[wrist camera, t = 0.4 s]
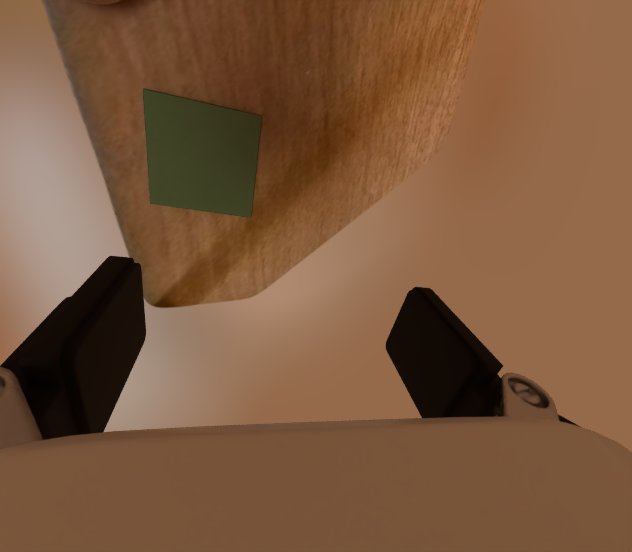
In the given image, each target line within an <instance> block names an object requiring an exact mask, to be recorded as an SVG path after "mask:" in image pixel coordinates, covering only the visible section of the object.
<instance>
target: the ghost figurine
mask: <svg viewBox="0 0 632 552" xmlns="http://www.w3.org/2000/svg"><path fill="white" fill-rule="evenodd" d="M81 1H85V2H88V3H93V4H111V3H115V2H118V1H120V0H81Z"/></svg>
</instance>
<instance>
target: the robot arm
mask: <svg viewBox="0 0 632 552" xmlns="http://www.w3.org/2000/svg"><path fill="white" fill-rule="evenodd" d="M145 336H146V325H145V313H144V299H143V286H142V273H141V265H140V264H139V263H134V260H133V258H127V257H117V256H109V257H108V258H107V259H106V260H105V261H104V262H103V263H102V264H101V265H100V266H99V267H98V269H97V270H96V271H95V272H94V273H93V274H92V275H91V276H90V277H89V278H88V279H87V280H86V281H85V283H84V284H83V285H82V286H81V287H80V288H79V289H78V290H77V291H76V292H75V293H74V294H73V295H72V296H71V297H67V298H66V299H64V300H63V301H62V302H61V303H60V304H59V305H58V306H57V307H56V308H55V309H54V310H53V311H52V312H51V313H50V314H49V315H48V316H47V318H46V319H45V320H44V321H43V322H42V323H41V324H40V325H39V326H38V327H37V328H36V329H35V330H34V331H33V332H32V333H31V334H30V335H29V336H28V337H27V338H26V340H25V341H24V342H23V343H22V344H21V345H20V346H19V347H18V348H17V349H16V350H15V351H14V352H13V353H12V354H11V355H10V356H9V357H8V358H7V359H6V361H5V362H4V363H3V364H2V365H1V366H0V552H632V452H630V451H629V450H628V449H627V448H625V447H624V446H622V445H621V444H619V443H617V442H615V441H613V440H611V439H609V438H607V437H605V436H603V435H600V434H598V433H596V432H594V431H591V430H588V429H585V428H582V427H580V426H578V425H576V424H575V423H573V422H571V421H569V420H567V419H565V418H564V417H562V416H560V415H558V414H557V410H556V407H555V404H554V402H553V400H552V398H551V397H550V396H549V394H548V393H547V392H546V391H545V390H544V389H543V388H541V387H540V386H539V385H538V384H536V383H535V382H533V381H532V380H530V379H528V378H526V377H524V376H521V375H519V374H514V373H506V374H504V375H503V377H502V378H500V377H499V376H498V375H497V374H498V372H499V371H500V370H501V368H502V367H503V365H502V364H501V363H500V362H499V361H498V360H497V359H496V358H495V356H493V354H492V353H491V352H489V350H488V349H487V348H486V347H485V346H484V345H483V344H482V343H481V342H480V341H479V340H478V338H477V337H476V336H475V335H474V334H473V333H472V332H471V331H470V330H469V329H468V328H467V327H466V326H465V325H464V323H463V322H462V321H461V320H460V319H459V318H458V317H457V316H456V315H455V314H454V313H453V312H452V311H451V310H450V309H449V308H448V307H447V305H445V303H444V302H443V301H442V300H441V299H440V298H439V297H438V296H437V295H436V294H435V293H434V292H433V290H431V289H430V288H422V287H415V288H413V289H412V290H411V291H409V292H408V294H407V296H406V298H405V301H404V303H403V305H402V307H401V310H400V312H399V314H398V316H397V319H396V321H395V323H394V326H393V328H392V330H391V332H390V334H389V337H388V339H387V342H386V350H387V352H388V354H389V356H390V358H391V360H392V362H393V364H394V365H395V367H396V369H397V371H398V373H399V375H400V377H401V379H402V381H403V383H404V384H405V386H406V388H407V390H408V392H409V394H410V396H411V398H412V400H413V401H414V403H415V405H416V407H417V409H418V411H419V413H420V415H421V416H422V418H416V419H415V418H414V419H383V420H357V421H356V420H354V421H327V422H300V423H275V424H251V425H230V426H229V425H228V426H205V427H204V426H203V427H183V428H166V429H147V430H131V431H114V432H104V429H105V427H106V425H107V423H108V421H109V418H110V416H111V414H112V412H113V410H114V407H115V405H116V403H117V401H118V398H119V396H120V394H121V392H122V390H123V387H124V385H125V383H126V381H127V378H128V377H129V374H130V372H131V370H132V368H133V366H134V363H135V361H136V359H137V357H138V355H139V352H140V350H141V348H142V346H143V343H144V341H145Z"/></svg>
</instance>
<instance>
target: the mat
mask: <svg viewBox="0 0 632 552" xmlns="http://www.w3.org/2000/svg"><path fill="white" fill-rule="evenodd" d="M143 98H144V114H145V130H146V145H147V161H148V176H149V192H150V204H157V205H164V206H171V207H179V208H186V209H193V210H200V211H207V212H215V213H222V214H229V215H236V216H243V217H251V213H252V204H253V195H254V185H255V176H256V166H257V157H258V148H259V138H260V129H261V119H262V116H260V115H256V114H251V113H247V112H243V111H238V110H234V109H230V108H225V107H221V106H216V105H212V104H208V103H203V102H199V101H195V100H190V99H186V98H182V97H177V96H173V95H169V94H164V93H160V92H156V91H151V90H147V89H143Z"/></svg>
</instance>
